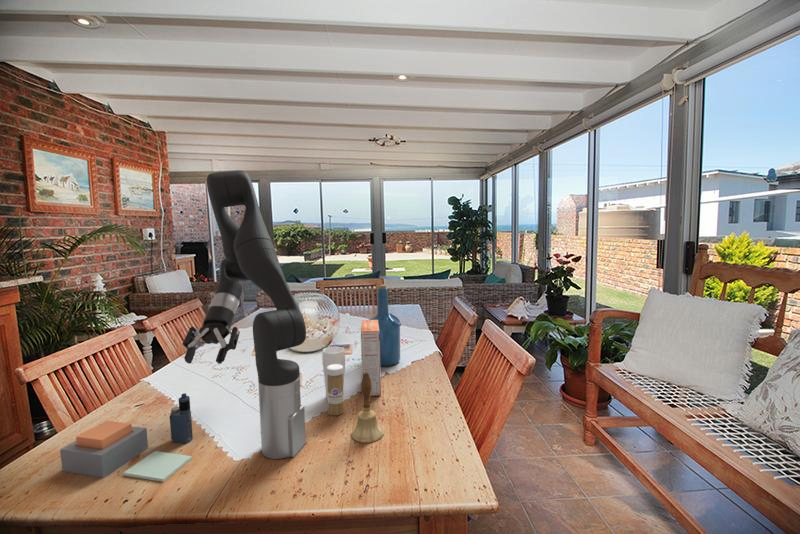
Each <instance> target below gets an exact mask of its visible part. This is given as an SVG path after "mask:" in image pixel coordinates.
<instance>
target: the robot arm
mask: <svg viewBox="0 0 800 534" xmlns="http://www.w3.org/2000/svg"><path fill="white" fill-rule="evenodd" d="M206 188H207V192H208V197H209V201H210V204H211V208H212V213H213V215H214V218H215V221H216V224H217V227H218V230H219V233H220V237H221V243H222V244H221V245H222V250H223V252H222V253H223V254H224V258H223V259H222V261H221V263H220V266H219V271H220V273H219V282H218V286H217V289H216V291H215V294H214V296H213V297H212V299H211V301H210V304H209V306H208V309H207V311H206V313H205V316H204V319H203V324H202V326H201V327H200V328H195V327H194V326H191V327H189V329H188V331H187V333H186V336H185V338H184V340H183V342H182V343H181V344H182V346H183V347H184V348H185V349H186V353H185V354H184V358H183V359H184V362H185V363H187V364H192V363H193V359H194V357H195V354H196V351H197V350H198V349H199V348H201V347H203V346H205V345H211V344H213V345H218V344H219V345H220V347H221V348H219V349H218V352H217V353H218V354H217V355H216V358H215V362H216V363H217V364H218V365H221V364H223V362H224V361H225V359H226V356H227V354H228V352H229V351H230V350H232V351H234V350H235V349H237V344H238V341H239V336H240V333H241V331H240V330H239V328H238V327H236V326H233V327H232V324H233V322H234V319H235V317H236V314H237V310H238V306H239V301H240V299H241V296H242V293H243V289H244V288H243V285H242V283H240V282H239V281H238V280H240V281H251V283H253V284H254V285H256V286H257V287H258V288H259V289H260V290H261V291H262V292H264V293H265V294H266V295H267V296H268V297H269V299H270V300H271V302H272V303H273V305H274V307H275V309H274V310H269V311H263V312H259V313H257V314H256V315H255V317H254V318H253V321H252V336H253V337H252V338H253V346H254V354H255V355H254V356H255V367H256V373H257V381H258V382H257V383H258V402H259V403H258V405H259V419H260V420H259V423H260V425H259V426H260V439H261V440H260V445H261V452H262V453H261V454H262V455H263V456H264V457H266V458H268V459H273V460H279V459H281V460H282V459H284V458H285V459H286V458H294V457H296V455H297V454H298V452H300V450H301V449H302V448H303V446H305V444H306V441H307V440H306V416H305V415H306V414H305V410H306V409H305V406H304V405H302V403H301V378H300V375H301V374H300V373H301V372H300V366H299V364H298V363H297V362H296V361H293V360H290V359H281V358H278V354H277V352H279V351H284V350H286V349H291V348H294V347H295V348H296V347H298V346H300V345H302V344H304V342H305V341H306V337H307V326H306V324H305V323H306V322H305V319H304V317H303V314H302V311H301V309H300V307H299V305H298V303H297V301H296V299H295V297H294V295H293V293H292V291H291V289H290V287H289V285H288V283H287V279H286V278H285V275H284V272H283V269H282V266H281V264H280V262H279V258H278V255H277V252H276V249H275V247H274V244H273V241H272V239H271V237H270V234H269V232H268V228H267V227H266V224H265V221H264V219H263V215H262V213H261V209H260V206H259V201H258V199H257V196H256V191H255V188H254V185H253V181H252V179H251V177H250V175H249V174H248V172H246V170H245V171H244V170H239V169H238V170H236V169H235V170H228V171H227V170H226V171H217V172H211V173H209V174H208V175H207V178H206ZM237 206H244V207H245V210H244V215H243V218H242V221H241V224H240V223H238V222H237V221H236V220H234V219H233V218H232V217H231V216H230V215H229V214H228V212H227V210H226V208H230V207H237ZM231 327H232V328H231ZM229 335H230V336H229ZM228 336H229V339H228V340H229V341H228V343H227V341H226V339H225V338H227V337H228Z"/></svg>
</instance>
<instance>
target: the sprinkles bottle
mask: <svg viewBox="0 0 800 534" xmlns="http://www.w3.org/2000/svg"><path fill="white" fill-rule="evenodd" d="M327 376H328V398H327V407H328V408H327V409H328V410H327V413H328V415H330V416H339V415H342V414H343V413H344V411H345V408H344V395H343V390H344V389H343V366H342V365H340V364H332V365H329V366H328V367H327Z"/></svg>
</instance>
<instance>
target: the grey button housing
mask: <svg viewBox="0 0 800 534" xmlns="http://www.w3.org/2000/svg"><path fill="white" fill-rule="evenodd" d="M131 426H132V425H131ZM148 449H149V441H148V431H147V427H139V426H132V433H130V434H129V435H127V436H125V437H124V438H122V439H120V440H119V441H117V442H115V443H113V444H112V445H110V446H108V447H107V448H105V449H103V450H100V449H93V448H86V447H79V446H77V441H76V440H75V441H74V442H73V441H72V442H71V443H70V444H67V445H66V446H63V447H62V448H60V449H59V452H60V460H61V471H62V472H65V473H71V474H72V473H73V474H77V475H84V476H89V477H90V476H91V477H97V478H105V477H107V476H108V475H110V474H111V473H113V472H114V471H116V470H117V469H119V468H121V467H122V466H123V465H125V464H126V463H128V462H129V461H132V459H134V458H136V457H137V456H139V455H140V454H142V453H143V452H144V451H146V450H148Z"/></svg>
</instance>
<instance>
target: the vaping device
mask: <svg viewBox="0 0 800 534" xmlns="http://www.w3.org/2000/svg"><path fill="white" fill-rule="evenodd" d="M190 399H191V398H190V396H189V395H187V393H182V394H181V396H180V397H178V406H175V407H172V408H171V409H170V413H169V414H170V415H169V426H170V438H171V440H172V442H173V443H179V444H188V443H190V442H191V441H192V440H193V439H194V437H193V424H192V423H193V422H192V411H191V401H190Z"/></svg>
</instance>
